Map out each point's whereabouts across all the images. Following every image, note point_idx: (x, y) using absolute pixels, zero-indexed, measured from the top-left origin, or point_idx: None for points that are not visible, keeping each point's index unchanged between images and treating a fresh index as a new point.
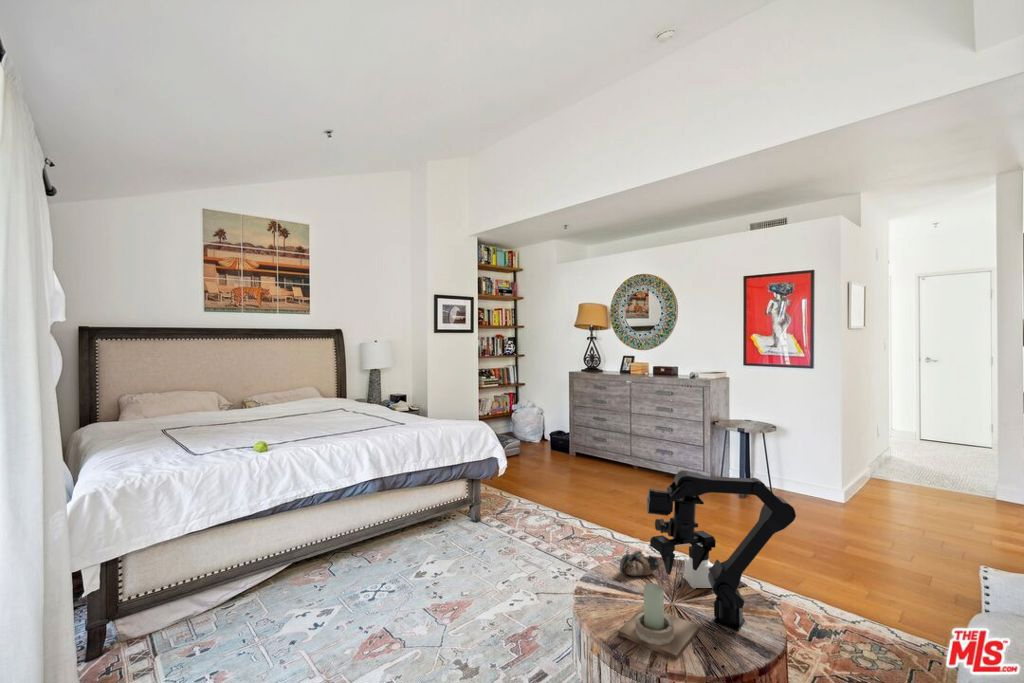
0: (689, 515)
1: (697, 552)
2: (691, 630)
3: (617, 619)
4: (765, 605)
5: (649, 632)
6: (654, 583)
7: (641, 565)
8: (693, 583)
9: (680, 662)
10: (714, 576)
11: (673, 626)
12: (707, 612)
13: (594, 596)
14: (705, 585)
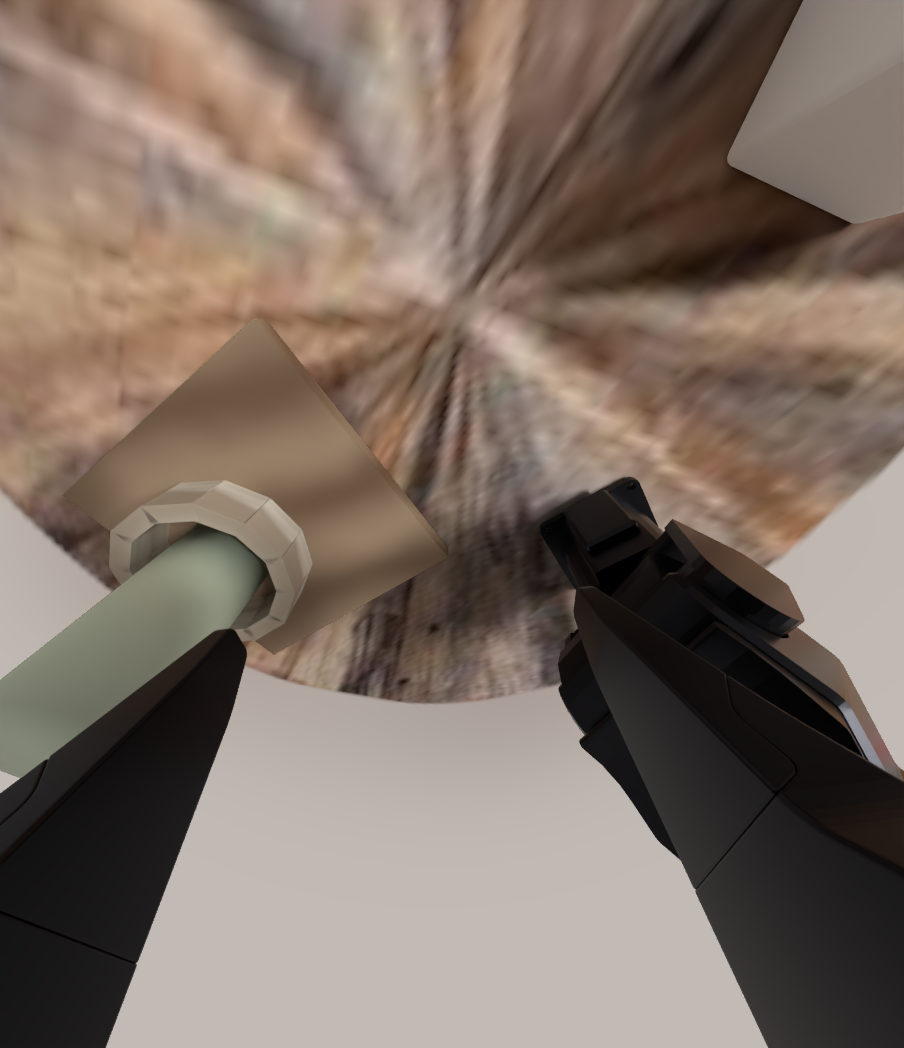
0: None
1: (733, 862)
2: (395, 572)
3: (82, 370)
4: (868, 481)
5: None
6: (57, 713)
7: None
8: (761, 151)
9: (289, 649)
10: (618, 739)
11: (335, 535)
12: (575, 452)
13: None
14: (825, 194)
